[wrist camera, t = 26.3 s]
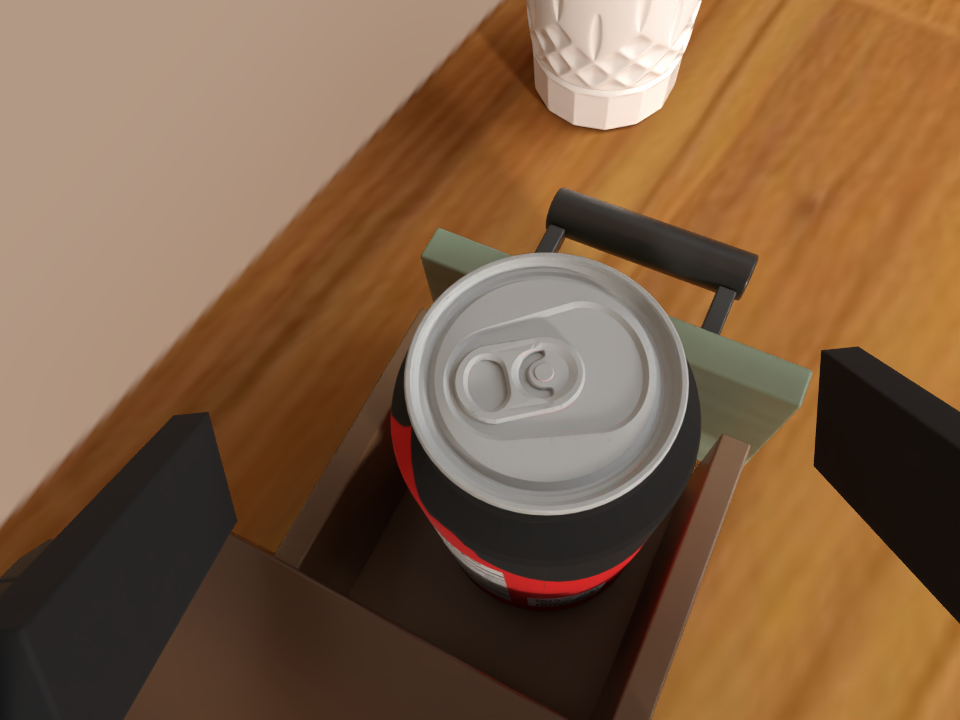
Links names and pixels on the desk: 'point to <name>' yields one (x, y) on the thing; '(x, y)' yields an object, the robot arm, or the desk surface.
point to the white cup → (608, 56)
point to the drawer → (653, 570)
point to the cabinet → (308, 657)
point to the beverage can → (545, 425)
